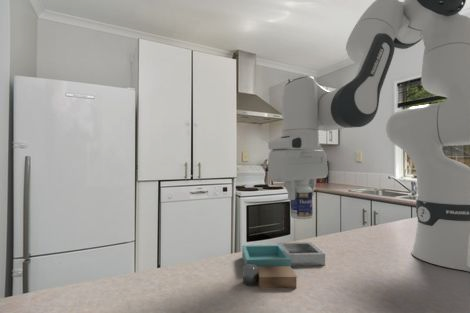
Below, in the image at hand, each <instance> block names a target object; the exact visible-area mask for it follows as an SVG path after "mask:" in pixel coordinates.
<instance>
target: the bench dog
mask: <svg viewBox="0 0 470 313" xmlns="http://www.w3.org/2000/svg"><path fill="white" fill-rule="evenodd" d="M242 284H243V285H245V286H247V287H254V286H257V285H259V284H258V266H257V265H254V264H246V265H244V264H243V266H242Z"/></svg>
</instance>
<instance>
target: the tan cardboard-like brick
mask: <svg viewBox="0 0 470 313" xmlns="http://www.w3.org/2000/svg"><path fill="white" fill-rule="evenodd" d="M257 285H258V288H259V289H260V290H262V289H264V290H266V289H269V290H270V289H297V276H296V273H295V272H294V269H292V266H291V267H290V266H258V284H257Z"/></svg>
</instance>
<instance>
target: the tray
mask: <svg viewBox="0 0 470 313" xmlns="http://www.w3.org/2000/svg"><path fill="white" fill-rule="evenodd" d="M241 250H242V251H241V252H242V254H241V255H242V256H241V258H242V261H243V266H244V265H246V264H254V265H257V266H290V267H291V268H292V266H291V258H290V257H289V256H288V254H287V253H286V252H285V251H284V249H283V248H282V247H281V245H278V244H255V245H254V244H251V245H242V248H241Z"/></svg>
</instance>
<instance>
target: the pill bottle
mask: <svg viewBox="0 0 470 313" xmlns="http://www.w3.org/2000/svg"><path fill="white" fill-rule="evenodd" d="M308 184H309V179H304V180H298V181H295V185H294V189H295V192H298V195H297V196H298V198H297V199H296V200H289V202H290V203H289V205H290V206H289V208H290V211H289V212H290V218H293V219H297V220H309V219H313V211H314V210H313V209H314V208H313V197H312V188H311V187H309V186H308Z"/></svg>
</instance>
